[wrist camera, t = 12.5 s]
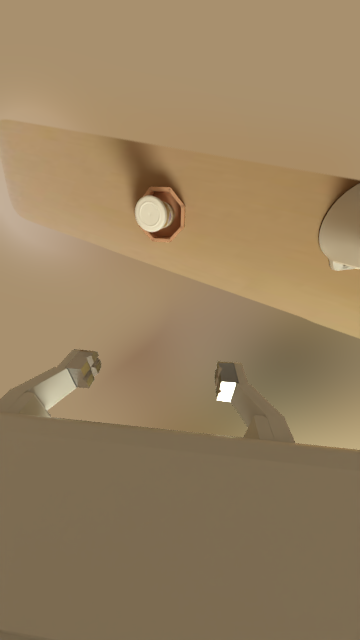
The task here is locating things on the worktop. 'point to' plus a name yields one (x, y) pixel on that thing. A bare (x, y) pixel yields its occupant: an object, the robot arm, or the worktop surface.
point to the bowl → (179, 210)
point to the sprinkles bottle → (153, 213)
